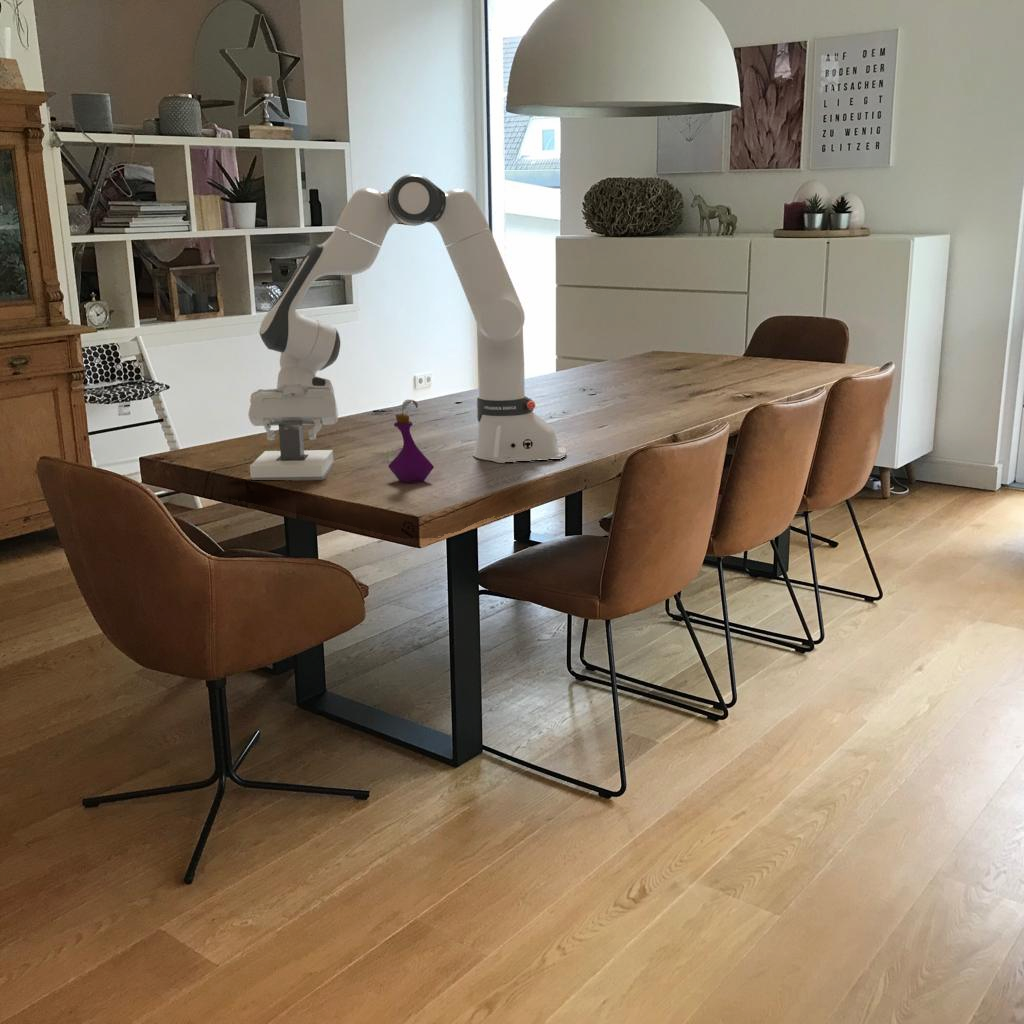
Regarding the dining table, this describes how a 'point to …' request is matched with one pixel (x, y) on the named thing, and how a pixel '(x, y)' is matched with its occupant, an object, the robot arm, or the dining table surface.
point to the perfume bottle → (409, 453)
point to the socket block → (292, 466)
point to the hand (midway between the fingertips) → (291, 438)
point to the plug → (291, 440)
